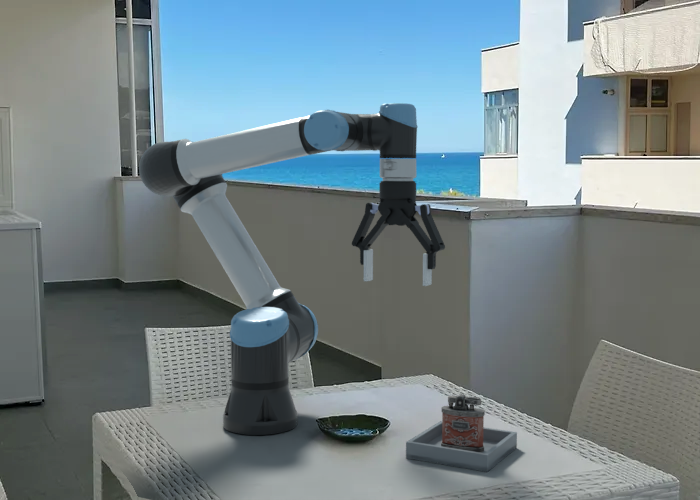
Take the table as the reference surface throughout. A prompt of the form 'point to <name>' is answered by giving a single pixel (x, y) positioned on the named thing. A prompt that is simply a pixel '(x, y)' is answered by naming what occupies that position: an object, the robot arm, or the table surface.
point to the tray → (431, 450)
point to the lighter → (463, 424)
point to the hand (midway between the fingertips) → (397, 283)
